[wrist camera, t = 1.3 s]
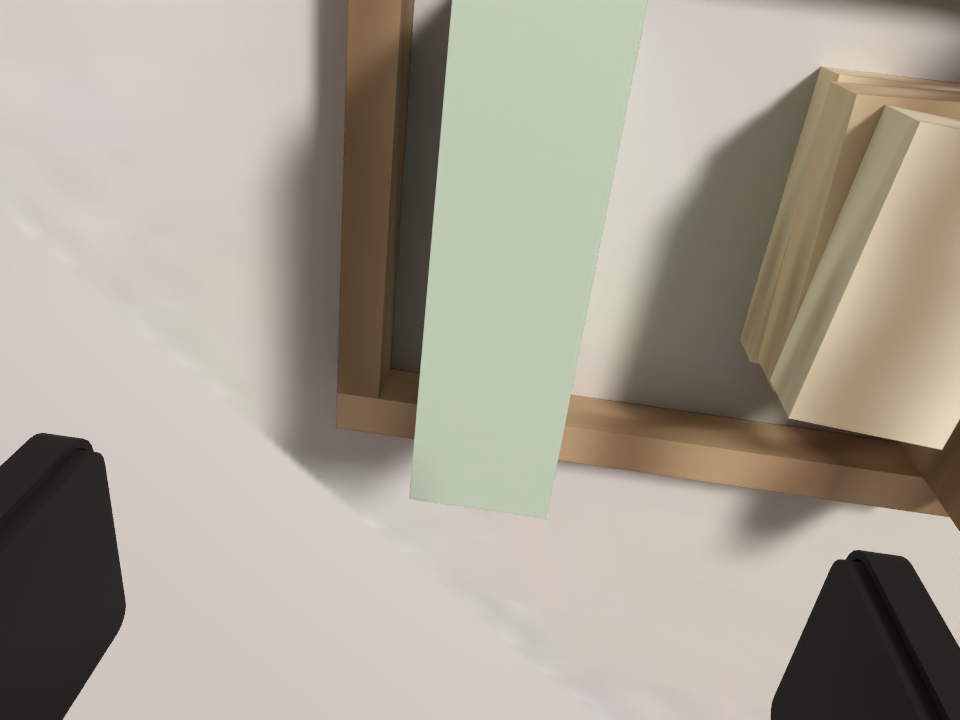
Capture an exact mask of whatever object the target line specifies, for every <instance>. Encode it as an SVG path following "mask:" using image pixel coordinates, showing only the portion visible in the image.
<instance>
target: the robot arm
mask: <svg viewBox="0 0 960 720" xmlns="http://www.w3.org/2000/svg"><path fill="white" fill-rule="evenodd" d="M125 604H126V603H125V595H124V589H123V582H122V575H121V568H120V562H119V555H118V549H117V541H116V535H115V528H114V521H113V514H112V508H111V501H110V495H109V488H108V481H107V474H106V467H105V462H104V458H103V456H102V455H101V454H100V453H98V452H94V451H93V448H92V445H91V444H90V443H89V441H88V440H85V439H81V438H74V437H67V436H60V435H53V434H47V433H40V434H36V435H34V436H33V437H31V438H30V439H29V440H28V441H27V442H26V443H25V444H24V445H23V446H21V447H20V448H19V449H18V450H17V451H16V452H15V453H14V454H13V455H12V456H11V457H10V458H9V459H8V460H7V461H5V462H4V463H3V464H2V465H1V466H0V720H63V718H64V716H65V715H66V713H67V712H68V710H69V708H70V707H71V705H72V704H73V702H74V700H75V699H76V698H77V696H78V694H79V693H80V691H81V690H82V688H83V687H84V685H85V683H86V682H87V680H88V679H89V677H90V675H91V674H92V672H93V671H94V669H95V668H96V666H97V665H98V663H99V661H100V660H101V658H102V657H103V655H104V653H105V652H106V650H107V649H108V647H109V646H110V644H111V643H112V641H113V639H114V638H115V636H116V635H117V633H118V631H119V629H120V627H121V625H122V622H123V619H124V615H125V608H126V605H125ZM771 720H960V648H959V646H958V644H957V642H956V641H955V639H954V637H953V635H952V634H951V632H950V630H949V629H948V627H947V625H946V623H945V622H944V620H943V618H942V616H941V615H940V613H939V611H938V609H937V608H936V606H935V604H934V602H933V601H932V599H931V597H930V596H929V594H928V592H927V590H926V589H925V587H924V585H923V583H922V582H921V580H920V578H919V576H918V575H917V573H916V571H915V569H914V568H913V566H912V565H911V563H910V562H909V561H908V560H907V559H906V558H904V557H902V556H896V555H889V554H882V553H875V552H868V551H861V550H856V551H853V552H851V553H850V554H849V555H848V557H847V559H846V560H842V559H841V560H837V561H835V562H834V563H833V565H832V567H831V569H830V571H829V573H828V576H827V578H826V580H825V582H824V585H823V587H822V589H821V591H820V594H819V596H818V598H817V601H816V603H815V605H814V607H813V610H812V612H811V614H810V616H809V619H808V621H807V623H806V626H805V628H804V630H803V632H802V635H801V637H800V639H799V641H798V644H797V646H796V648H795V651H794V653H793V655H792V657H791V660H790V662H789V664H788V666H787V669H786V671H785V673H784V676H783V678H782V680H781V682H780V685H779V687H778V689H777V691H776V694H775V696H774V699H773V702H772V707H771Z"/></svg>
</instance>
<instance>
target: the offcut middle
mask: <svg viewBox="0 0 960 720" xmlns="http://www.w3.org/2000/svg"><path fill="white" fill-rule="evenodd" d="M885 105H889V106H894V107H899V108H904V109H909V110H914V111H919V112H923V113H928V114H933V115H938V116H943V117H948V118H953V119H958V120H960V91H948V90H935V89H922V88H909V87H896V86H883V85H870V84H857V83H845V82H832V81H830V85H829V89H828V92H827V96H826V100H825V104H824V108H823V111H822V115H821V119H820V123H819V127H818V130H817V134H816V138H815V142H814V146H813V150H812V153H811V157H810V161H809V165H808V169H807V172H806V176H805V180H804V184H803V188H802V191H801V195H800V199H799V203H798V207H797V210H796V214H795V218H794V222H793V226H792V230H791V233H790V237H789V241H788V245H787V249H786V252H785V256H784V260H783V264H782V268H781V271H780V275H779V279H778V283H777V287H776V291H775V294H774V298H773V302H772V306H771V310H770V313H769V317H768V321H767V325H766V329H765V332H764V336H763V340H762V344H761V348H760V352H759V355H758V361H759V363H760V365H761V367H762V369H763V371H764V374H765V376H766V378H767V380H768V382H769V384H770V386H771V388H772V390H773V392H776V391H775V389H774V387H773V385H772V383H771V381H770V379H771V376H772V374H773V372H774V369H775V367H776V364H777V362H778V360H779V357H780V355H781V353H782V350H783V348H784V345H785V343H786V341H787V338H788V336H789V333H790V331H791V329H792V326H793V324H794V322H795V319H796V317H797V315H798V312H799V310H800V307H801V305H802V303H803V300H804V298H805V295H806V293H807V291H808V288H809V286H810V283H811V281H812V279H813V276H814V274H815V271H816V269H817V267H818V264H819V262H820V260H821V257H822V255H823V252H824V250H825V248H826V245H827V243H828V241H829V238H830V236H831V233H832V231H833V229H834V226H835V224H836V221H837V219H838V217H839V214H840V212H841V210H842V207H843V205H844V202H845V200H846V198H847V195H848V193H849V190H850V188H851V186H852V183H853V181H854V179H855V176H856V174H857V171H858V169H859V167H860V164H861V162H862V159H863V157H864V155H865V152H866V150H867V148H868V145H869V143H870V140H871V138H872V136H873V133H874V131H875V129H876V126H877V124H878V121H879V119H880V117H881V114H882V112H883V109H884V107H885Z"/></svg>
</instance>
